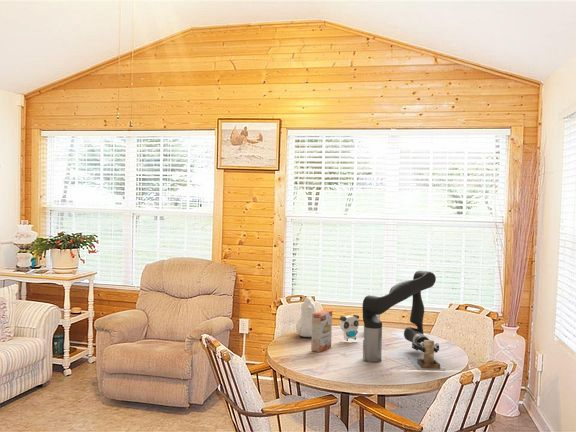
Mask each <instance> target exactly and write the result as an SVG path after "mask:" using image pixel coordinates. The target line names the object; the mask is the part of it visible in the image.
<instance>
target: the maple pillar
mask: <svg viewBox="0 0 576 432" xmlns="http://www.w3.org/2000/svg"><path fill="white" fill-rule="evenodd" d="M434 344H435V341H434V340H432V339H429V340H424V348H425V352H423V356H424V358H423V364H434V358H435V352H434Z"/></svg>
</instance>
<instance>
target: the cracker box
mask: <svg viewBox="0 0 576 432" xmlns="http://www.w3.org/2000/svg"><path fill="white" fill-rule="evenodd" d="M332 327H333V311H332V310H327V309H323V310H319V311H316V313H312V337H311V346H310V347H311V350H312V351H311V352H316V351H318V352H317V353H321V352H323V351H322V350H324V351H326V350H327V348H328V349H330V348H332V334H333V332H332V330H333V329H332ZM329 347H330V348H329ZM325 349H326V350H325ZM320 351H321V352H320Z"/></svg>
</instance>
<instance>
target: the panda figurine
mask: <svg viewBox="0 0 576 432" xmlns="http://www.w3.org/2000/svg"><path fill="white" fill-rule="evenodd" d="M359 319H360V316H359V315H357V314H353V315H345V316H343V315H340V317H339V320H340V324H339V326H340V330H342V332H343V338H344V340H346V341H348V339H354V340H356V339H357V334H358V333H359V331H358V329H359V326H360V322H359Z"/></svg>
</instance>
